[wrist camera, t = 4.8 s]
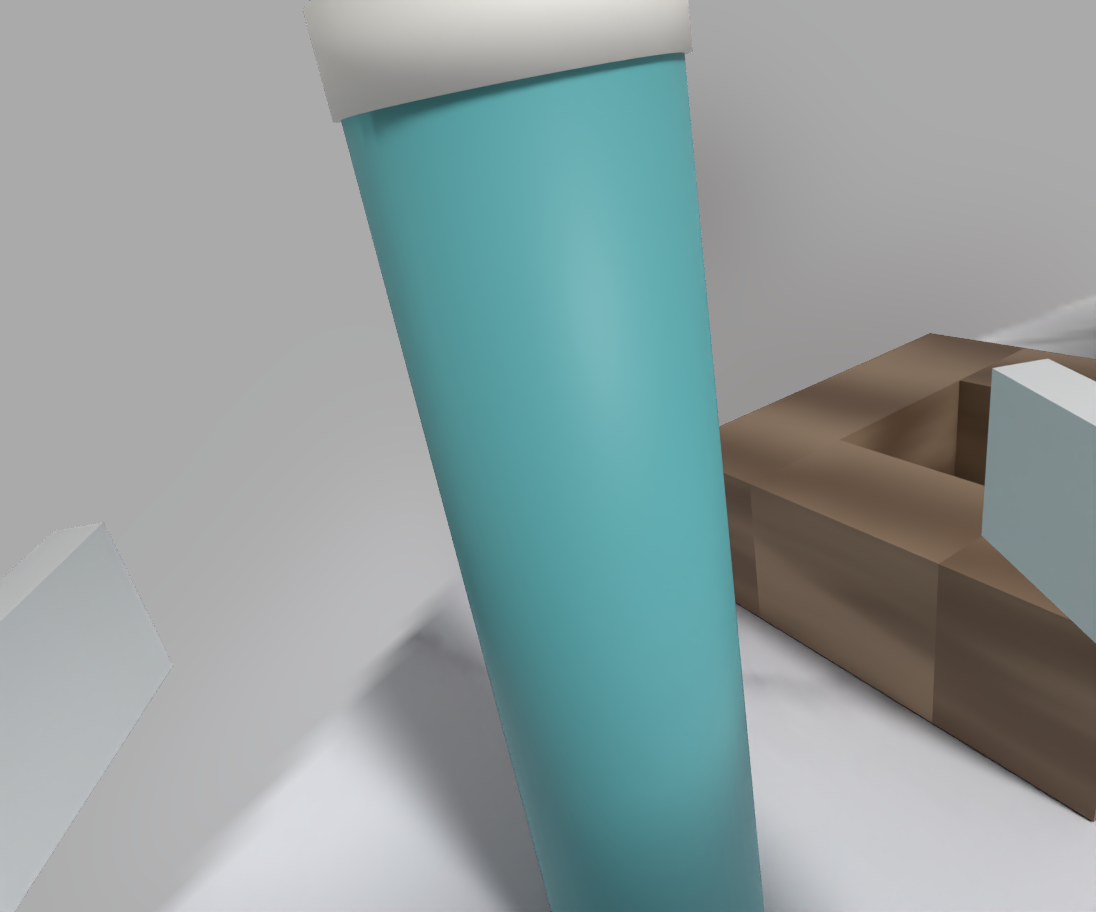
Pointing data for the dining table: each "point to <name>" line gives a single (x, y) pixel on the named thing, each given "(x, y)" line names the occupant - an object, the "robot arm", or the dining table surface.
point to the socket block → (912, 556)
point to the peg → (567, 412)
